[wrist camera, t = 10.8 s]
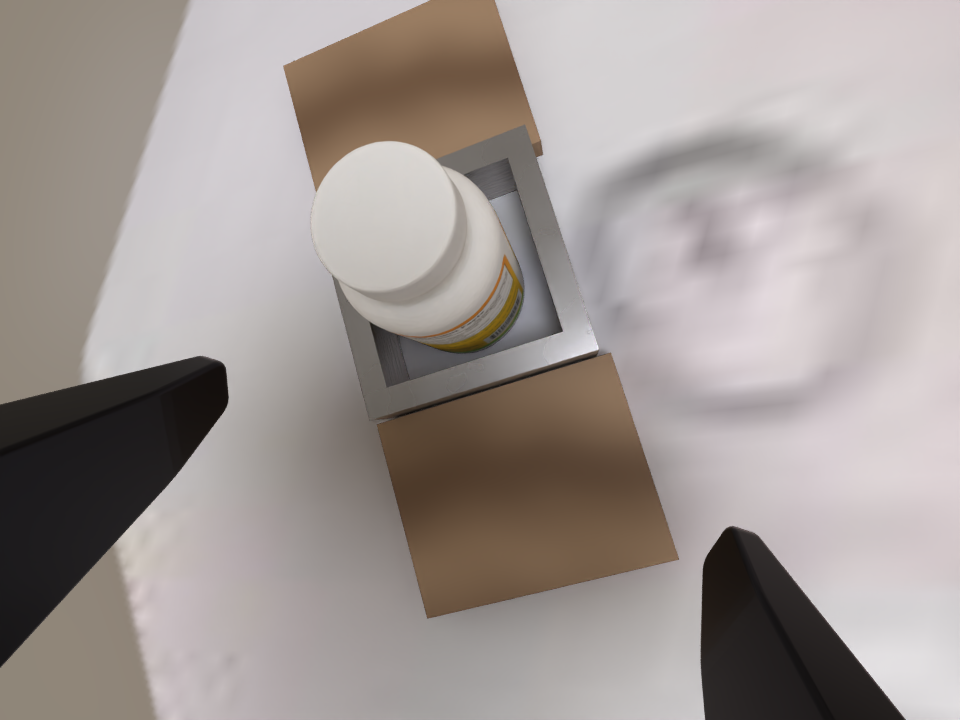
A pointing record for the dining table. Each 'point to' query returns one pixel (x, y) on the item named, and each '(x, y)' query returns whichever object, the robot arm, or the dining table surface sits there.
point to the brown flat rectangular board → (503, 410)
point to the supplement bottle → (417, 248)
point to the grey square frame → (394, 395)
